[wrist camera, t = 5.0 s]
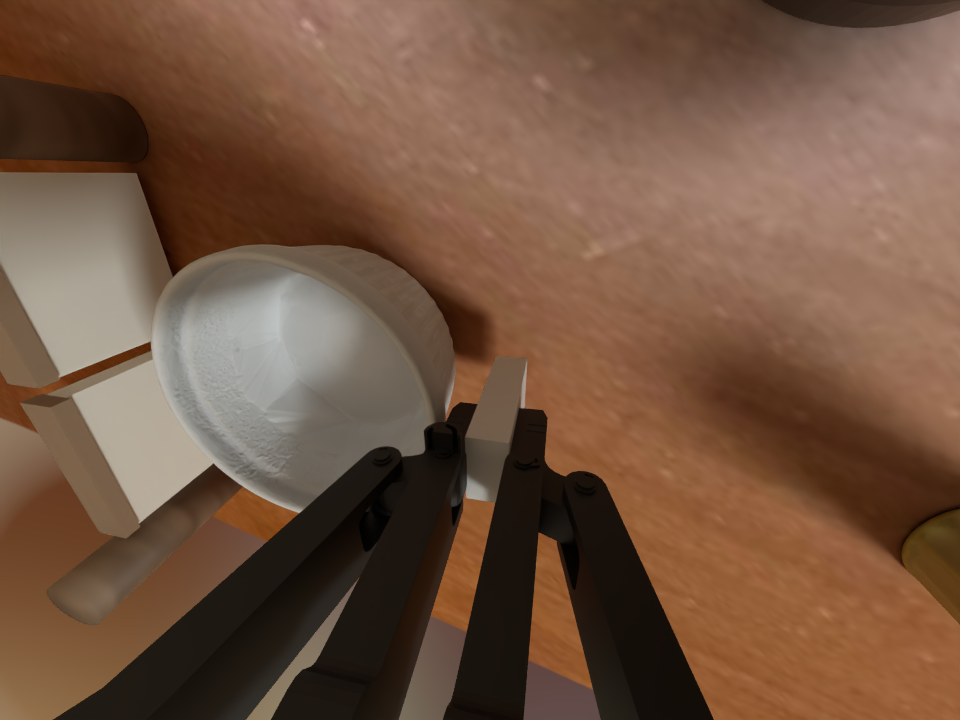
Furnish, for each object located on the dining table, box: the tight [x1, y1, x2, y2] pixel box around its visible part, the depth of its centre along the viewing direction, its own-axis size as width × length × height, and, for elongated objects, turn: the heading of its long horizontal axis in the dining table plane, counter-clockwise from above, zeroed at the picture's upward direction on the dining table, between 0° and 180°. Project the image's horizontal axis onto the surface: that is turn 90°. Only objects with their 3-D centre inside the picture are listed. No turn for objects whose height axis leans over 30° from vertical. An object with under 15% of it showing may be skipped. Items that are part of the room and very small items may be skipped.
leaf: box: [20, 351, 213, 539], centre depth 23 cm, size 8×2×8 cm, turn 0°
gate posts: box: [0, 75, 243, 625], centre depth 19 cm, size 25×3×11 cm, turn 0°
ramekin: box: [151, 244, 456, 513], centre depth 19 cm, size 13×13×7 cm
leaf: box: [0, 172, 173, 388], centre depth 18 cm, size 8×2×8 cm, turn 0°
